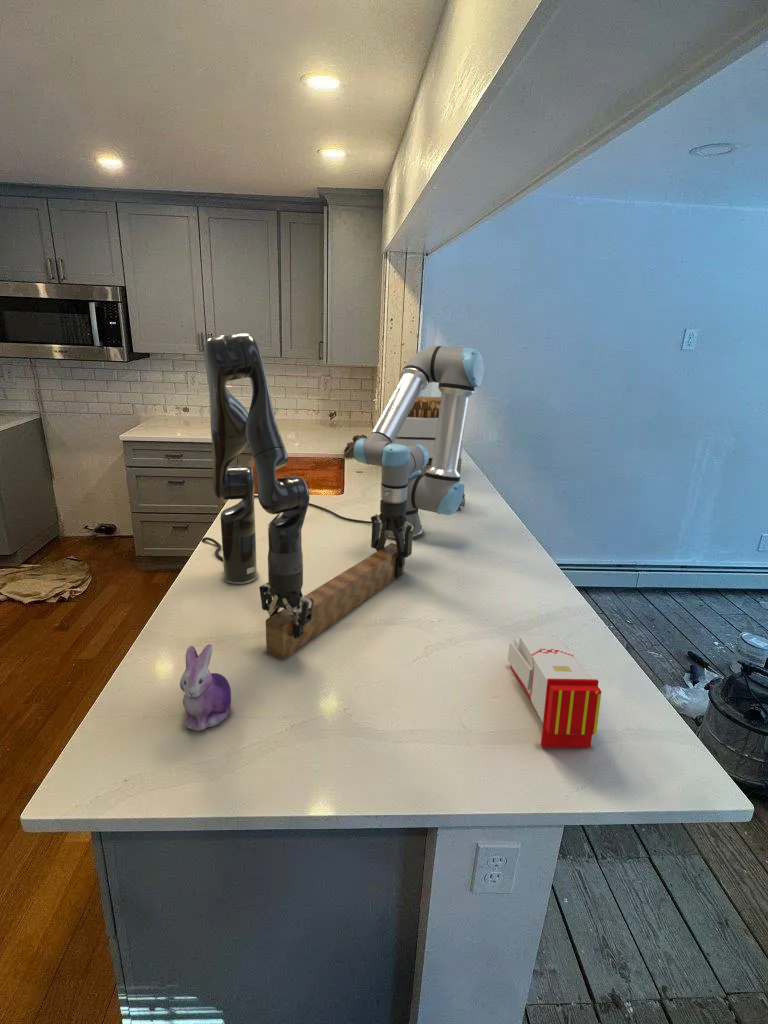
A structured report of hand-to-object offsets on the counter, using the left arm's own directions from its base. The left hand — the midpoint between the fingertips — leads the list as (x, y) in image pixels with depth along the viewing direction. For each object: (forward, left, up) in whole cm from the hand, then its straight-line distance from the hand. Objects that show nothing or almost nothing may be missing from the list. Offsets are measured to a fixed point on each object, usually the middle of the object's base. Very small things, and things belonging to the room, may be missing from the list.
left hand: (286, 632), depth 130 cm
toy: (+40, +41, -4) cm, 58 cm away
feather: (-83, +26, -4) cm, 87 cm away
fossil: (-159, +95, -4) cm, 185 cm away
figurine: (+16, -21, -4) cm, 27 cm away
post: (-12, +20, -4) cm, 24 cm away
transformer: (-115, +108, -4) cm, 158 cm away
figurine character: (-67, +95, -4) cm, 116 cm away
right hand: (-23, +40, -4) cm, 47 cm away
